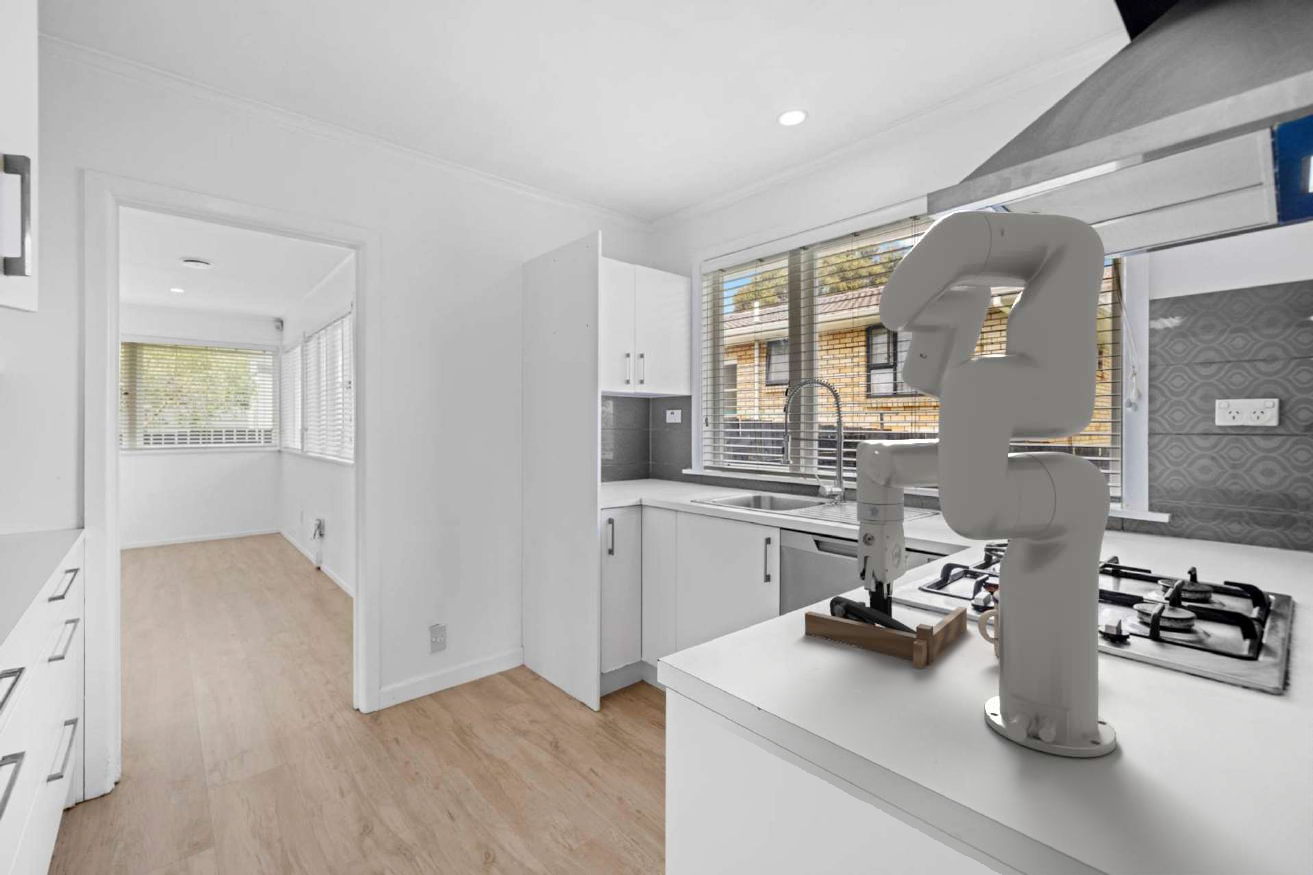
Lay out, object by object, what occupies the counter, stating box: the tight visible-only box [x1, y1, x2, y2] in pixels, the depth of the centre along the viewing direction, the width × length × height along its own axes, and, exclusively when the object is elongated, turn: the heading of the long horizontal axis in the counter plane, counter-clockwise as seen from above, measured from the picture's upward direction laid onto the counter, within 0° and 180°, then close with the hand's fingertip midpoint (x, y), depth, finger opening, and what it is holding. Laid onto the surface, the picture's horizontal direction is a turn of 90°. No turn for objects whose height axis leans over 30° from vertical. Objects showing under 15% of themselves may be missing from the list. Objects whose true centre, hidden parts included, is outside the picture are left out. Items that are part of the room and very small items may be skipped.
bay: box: [804, 606, 968, 670], centre depth 100 cm, size 22×20×5 cm
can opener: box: [829, 595, 916, 634], centre depth 98 cm, size 18×7×6 cm, turn 25°
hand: (880, 619), depth 103 cm, fingers closed
